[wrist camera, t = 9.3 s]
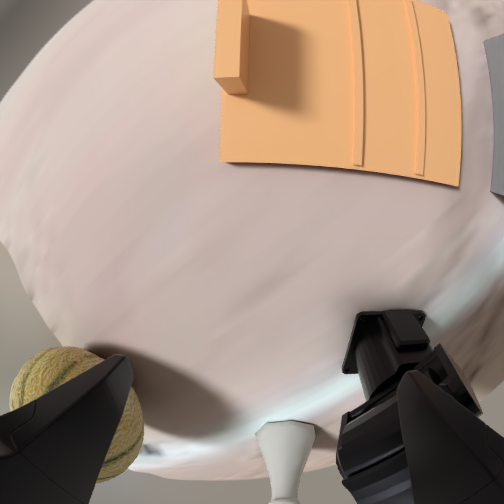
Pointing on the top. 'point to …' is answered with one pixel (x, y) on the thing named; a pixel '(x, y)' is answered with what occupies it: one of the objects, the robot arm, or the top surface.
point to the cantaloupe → (64, 369)
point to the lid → (340, 86)
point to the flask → (285, 456)
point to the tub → (497, 108)
